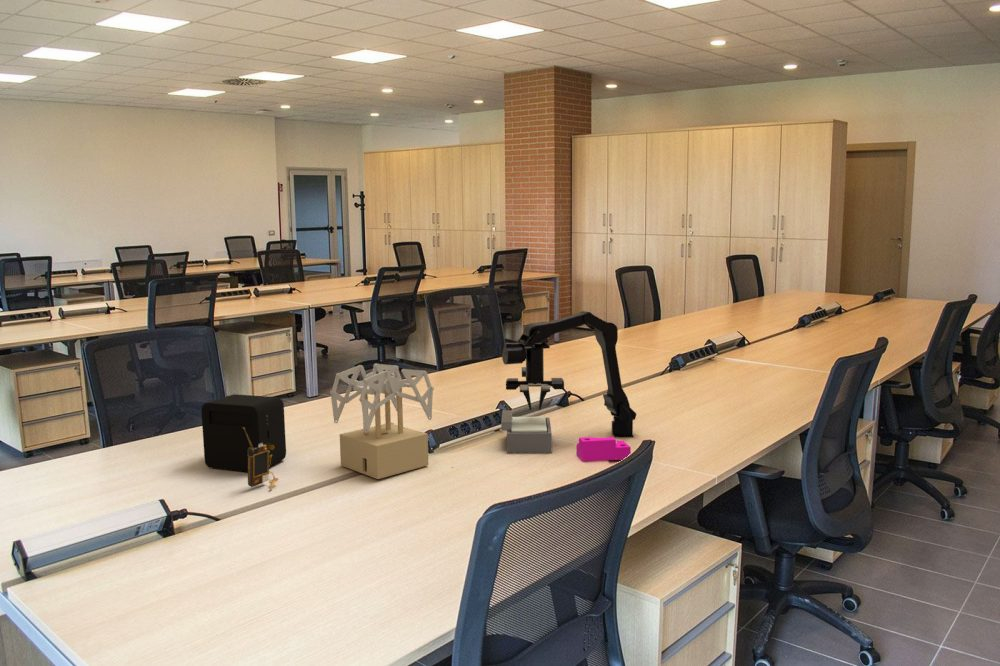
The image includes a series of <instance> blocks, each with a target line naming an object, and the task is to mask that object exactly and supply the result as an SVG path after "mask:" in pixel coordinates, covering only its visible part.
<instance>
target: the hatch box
mask: <svg viewBox="0 0 1000 666" xmlns="http://www.w3.org/2000/svg"><path fill="white" fill-rule="evenodd" d="M544 417H545V418H546V426H547V432H511V431H506V453H507V454H553V453H552V452H553V451H552V449H553V447H552V441H553V440H552V439H553V438H552V437H553V435H552V433H553V432H552V426H551V420H550V419H551V418H550V416H549V417H546V416H544Z"/></svg>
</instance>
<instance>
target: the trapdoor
mask: <svg viewBox="0 0 1000 666" xmlns="http://www.w3.org/2000/svg"><path fill="white" fill-rule="evenodd" d="M501 414H502V415H501V422H500V424H501V425H500V428H501V430H500V431H504V432H505V431H506V432H507V431H511V432H547V426H546V418H545V417H546V416H513V410H510V409H509V410H504V409H503V410H502V412H501Z"/></svg>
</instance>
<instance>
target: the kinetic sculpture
mask: <svg viewBox="0 0 1000 666" xmlns="http://www.w3.org/2000/svg"><path fill="white" fill-rule="evenodd" d="M372 368H373V369H372V371H371V372H369V373H366V370H365V368H364V365H362V364H359V365H357V366H353V367H352V368H348V369H346V370H343V371H341V372H337V373H336V374H335V379H334V381H333V384H332V389H331V390H330V391H329V394H330V399H331V407H332V408H331V409H332V413H333V415H332V416H333V422H334V424H338V422H339V420H340V417H341V415H342V413H343V410H344V408H345V405H346V404H349V403H350V402H351V401H352V400H354V399H356V398H357V397H359V396H360V397H359V400H358V401H359V402H360V403H361V410H362V411H361V412H362V422H363V424H362V425H363V428H362V429H361V428H360V429H357V430H353V431H348V432H347V431H346V432H343V433H339V452H340V454H339V455H340V466H341V467H344V468H347V469H349V470H352V471H355V472H357V473H360V474H363V475H366V476H368V477H371V478H373V479H376V480H379V479H384V478H387V477H391V476H394V475H397V474H398V475H399V474H402V473H406V472H409V471H413V470H416V469H420V468H423V467H427V466H429V434H428V433H426V432H423V431H420V430H416V429H412V428H409V427H406V426H405V427H404V417H403V415H404V414H403V413H404V412H403V410H404V409H403V398H404V399H406V400H409V401H410V400H411V401H414V402H417V403H419V404H420V405H421V407H422V410H423V412H424V413H425V416H426V417H427V419H428V421H431V420H432V418H433V417H432V416H433V393H434V392H433V391H435V388H434V387H433V386H432V384H431V381H430V378H429V375H428V372H427V371H426V370H419V369H409V368H408V369H407V368H402V369H401V371H399V366H398V365H394V364H383V363H374V364H373V367H372ZM400 372H401V373H402V375H403V376H404V378H405V379H402V376H401V373H400ZM360 373H361V376H362V378H363V380H357V379H358V377H359V375H360ZM350 375H352V376H351V378H350V377H349V376H350ZM412 376H415V378H414V379H413V378H412ZM423 378H424V381H425V383H426V387H427V390H426V391H425V392H424V393H423V395H421V394H420V392H419V390H418V387H417V385H418V384H419V382H420V381H421V380H422V379H423ZM340 380H341V381H342V382H344V383H345V384H347V385H348V386H347V389H346V391H345V394H344V396H342V395H341V394H340V393H338V392H337V388H338V386H339V382H340ZM352 388H353V391H355V392H354V393H353V394H351V391H352ZM403 388H412V390H413V393H414V395H415V396H414V395H411V394H409V393H408V394H407V393H406V392H405V393H404V392H403ZM350 394H351V395H350ZM381 394H384V398H383V399H381ZM369 395H372V396H373V395H374V396H373V397H374V399H373V401H372V402H370V401H369V397H368V396H369ZM426 400H427V403H426ZM338 402H340V403H339V405H338ZM391 403H392V405H393V407H394V409H395V411H396V412H397V424H395V423H394V422H391V417H392V416H391ZM383 405H384V412H385V415H384V416H385V419H384V420H385V422H384V424H381V422H382V421H381V419H382V418H381V417H382V416H381V407H382V406H383ZM369 411H370V412H369ZM374 419H375V421H374V424H375V425H374V426H371V425H372V422H373V420H374Z"/></svg>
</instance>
